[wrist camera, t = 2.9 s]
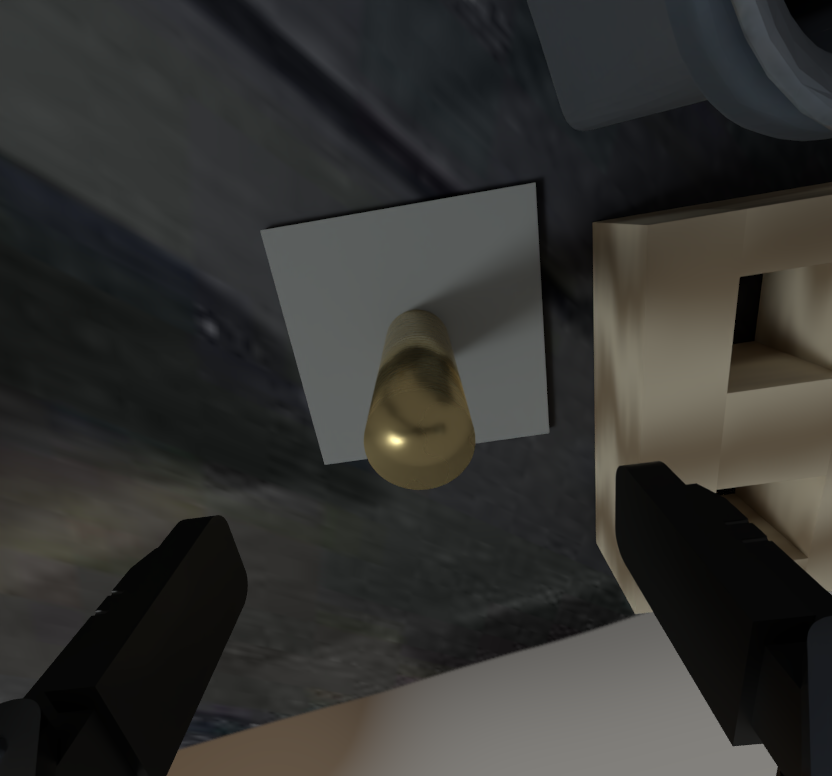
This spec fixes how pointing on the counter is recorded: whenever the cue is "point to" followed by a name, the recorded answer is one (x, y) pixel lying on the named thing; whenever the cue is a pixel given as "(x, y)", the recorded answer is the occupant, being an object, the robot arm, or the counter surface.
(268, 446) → the counter surface
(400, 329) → the peg
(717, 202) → the hole block
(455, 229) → the mat
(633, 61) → the storage bin
